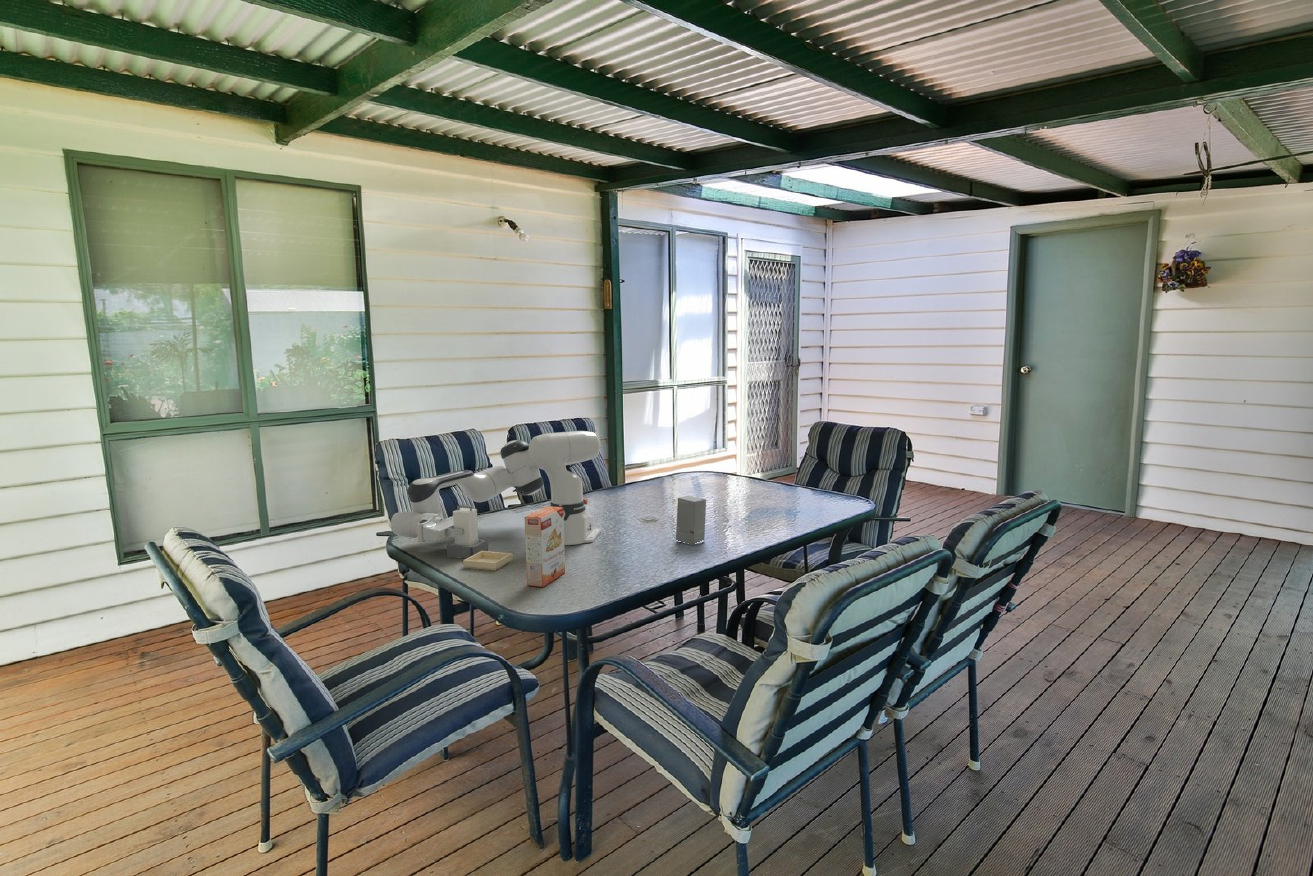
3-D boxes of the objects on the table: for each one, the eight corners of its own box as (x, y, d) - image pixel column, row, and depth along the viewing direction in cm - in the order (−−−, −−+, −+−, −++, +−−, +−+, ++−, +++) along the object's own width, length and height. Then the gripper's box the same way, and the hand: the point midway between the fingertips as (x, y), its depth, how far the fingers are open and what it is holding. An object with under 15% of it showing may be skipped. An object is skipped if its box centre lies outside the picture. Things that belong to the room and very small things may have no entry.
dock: (462, 549, 245) (462, 538, 244) (488, 551, 241) (487, 540, 241) (447, 556, 236) (446, 545, 236) (473, 559, 233) (473, 547, 232)
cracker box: (544, 588, 204) (541, 517, 201) (526, 586, 206) (522, 516, 203) (566, 573, 217) (564, 506, 214) (549, 571, 219) (546, 505, 216)
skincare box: (675, 542, 248) (674, 497, 246) (688, 537, 253) (688, 494, 251) (694, 546, 242) (693, 501, 240) (707, 541, 248) (706, 497, 245)
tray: (482, 558, 234) (481, 550, 234) (513, 560, 230) (512, 553, 230) (463, 568, 224) (463, 560, 224) (495, 571, 220) (495, 563, 220)
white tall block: (464, 550, 242) (461, 503, 240) (479, 552, 240) (476, 504, 238) (455, 555, 238) (452, 507, 235) (470, 556, 236) (468, 508, 233)
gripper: (451, 527, 252) (485, 530, 248) (415, 543, 233) (451, 546, 228) (450, 510, 251) (484, 512, 247) (413, 524, 232) (450, 527, 228)
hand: (468, 529), depth 237 cm, fingers closed on white tall block, 5 cm apart
